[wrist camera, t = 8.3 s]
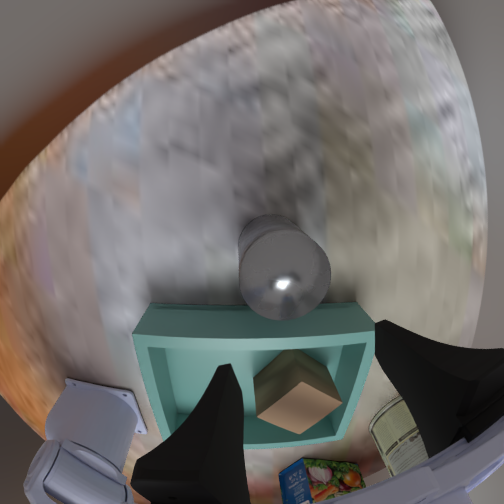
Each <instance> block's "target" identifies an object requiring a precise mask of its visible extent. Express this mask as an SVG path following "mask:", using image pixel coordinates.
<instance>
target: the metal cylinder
mask: <svg viewBox="0 0 504 504" xmlns="http://www.w3.org/2000/svg"><path fill="white" fill-rule="evenodd" d="M238 251H239V286H240V290H241V293H242V296H243V298H244V300H245V302H246V303H247V304H248V306H249V307H250V308H251V309H252V310H253V311H255V312H256V313H257V314H259V315H261V316H263V317H265V318H268V319H272V320H281V321H284V320H292V319H296V318H299V317H301V316H304V315H306V314H307V313H309V312H311V311H312V310H313V309H314V308H316V307H317V306H318V305H319V303H320V302H321V301H322V300H323V298H324V297H325V295H326V293H327V291H328V288H329V285H330V280H331V268H330V263H329V260H328V257H327V256H326V254H325V252H324V251H323V249H322V248H321V247H320V246H319V245H318V244H317V243H316V242H315V241H314V240H312V239H311V238H310V237H309V236H308V235H307V234H305V233H304V232H303V231H302V230H301V229H300V228H298V227H297V226H296V225H295V224H294V223H293V222H291V221H290V220H289V219H287V218H285V217H282V216H279V215H263V216H260V217H258V218H256V219H254V220H252V221H251V222H250V223H249V224H248V225H247V226H246V227H245V228H244V230H243V231H242V233H241V236H240V239H239V245H238Z"/></svg>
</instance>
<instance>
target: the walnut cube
mask: <svg viewBox="0 0 504 504" xmlns="http://www.w3.org/2000/svg"><path fill="white" fill-rule="evenodd" d="M253 384H254V395H255V407H256V417H258V418H260V419H262V420H265V421H267V422H269V423H272V424H274V425H276V426H279V427H281V428H284V429H286V430H289V431H292V432H294V433H297V434H301V433H303V432H304V431H306V430H307V429H308V428H310V427H311V426H313V425H314V424H316V423H317V422H318V421H320V420H321V419H322V418H324V417H325V416H327V415H328V414H329V413H331V412H332V411H333V410H334V409H336V408H337V407H338V406H340V405H341V404H342V403H343V402H342V400H341V398H340V395H339V393H338V391H337V388H336V386H335V384H334V382H333V379H332V377H331V375H330V373H329V370H328V368H327V367H326V366H324V365H323V364H321V363H320V362H318V361H317V360H315V359H313V358H312V357H310V356H309V355H307V354H306V353H304V352H303V351H301V350H299V349H285V350H283V351H282V352H281V353H280V354H279V355H278V356H276V357H275V358H274V359H273V360H272V361H271V362H270V363H269V364H268V365H267V366H266V367H264V368H263V369H262V370H261V371H260V372H259V373H258V374H257V375H255V376H254V377H253Z"/></svg>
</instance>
